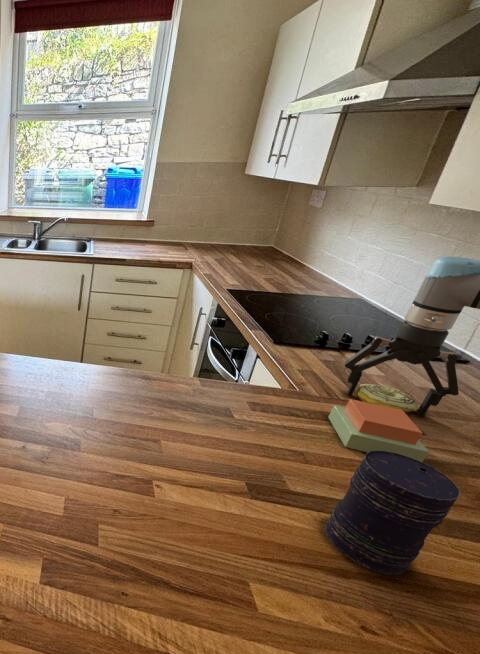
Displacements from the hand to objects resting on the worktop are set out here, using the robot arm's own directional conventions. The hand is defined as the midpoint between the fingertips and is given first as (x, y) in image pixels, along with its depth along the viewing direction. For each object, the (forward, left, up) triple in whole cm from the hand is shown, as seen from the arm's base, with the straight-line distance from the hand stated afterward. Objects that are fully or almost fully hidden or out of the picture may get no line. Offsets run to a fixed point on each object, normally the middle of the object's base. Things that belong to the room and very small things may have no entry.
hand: (383, 404), depth 101 cm
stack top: (+3, +21, +3) cm, 21 cm away
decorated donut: (0, 0, 0) cm, 0 cm away
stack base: (+3, +21, 0) cm, 21 cm away
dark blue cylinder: (+5, +58, 0) cm, 58 cm away
